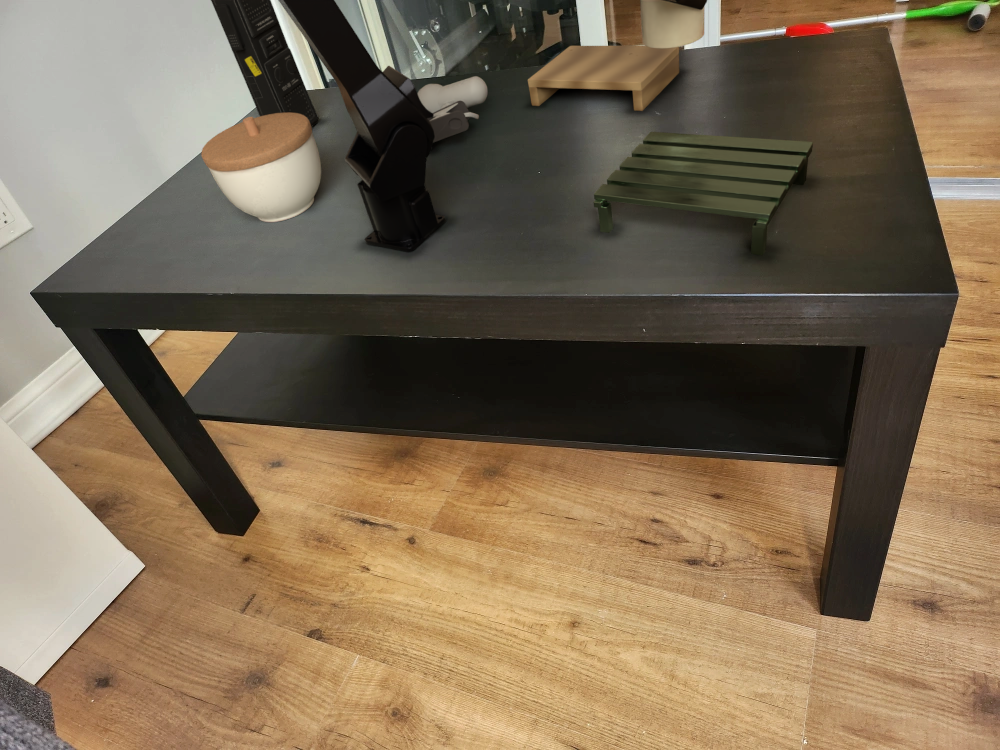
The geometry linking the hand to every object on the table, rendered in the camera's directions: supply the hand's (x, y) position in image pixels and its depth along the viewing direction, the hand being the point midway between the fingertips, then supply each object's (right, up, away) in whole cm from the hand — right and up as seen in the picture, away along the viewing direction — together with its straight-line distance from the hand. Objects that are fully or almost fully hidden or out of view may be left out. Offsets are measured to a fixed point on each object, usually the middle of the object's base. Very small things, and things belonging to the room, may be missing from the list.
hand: (682, 0), depth 75 cm
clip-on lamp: (-30, -8, +20) cm, 36 cm away
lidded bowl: (-46, -20, +11) cm, 51 cm away
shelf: (-5, -2, +19) cm, 20 cm away
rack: (0, -24, -7) cm, 25 cm away
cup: (-1, -3, +2) cm, 4 cm away
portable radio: (-50, -4, +30) cm, 58 cm away
